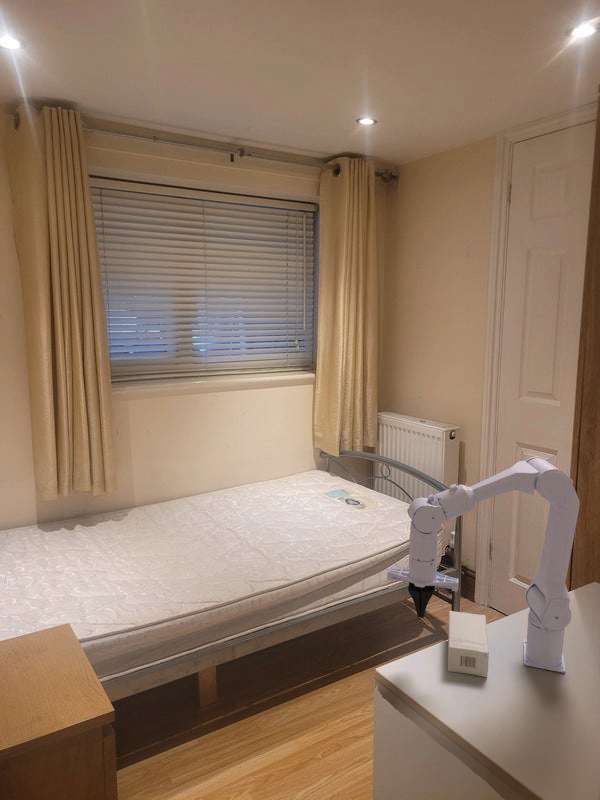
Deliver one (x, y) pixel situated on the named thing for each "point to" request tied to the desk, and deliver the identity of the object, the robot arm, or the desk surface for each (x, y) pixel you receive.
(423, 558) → the robot arm
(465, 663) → the skincare box
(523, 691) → the desk surface
